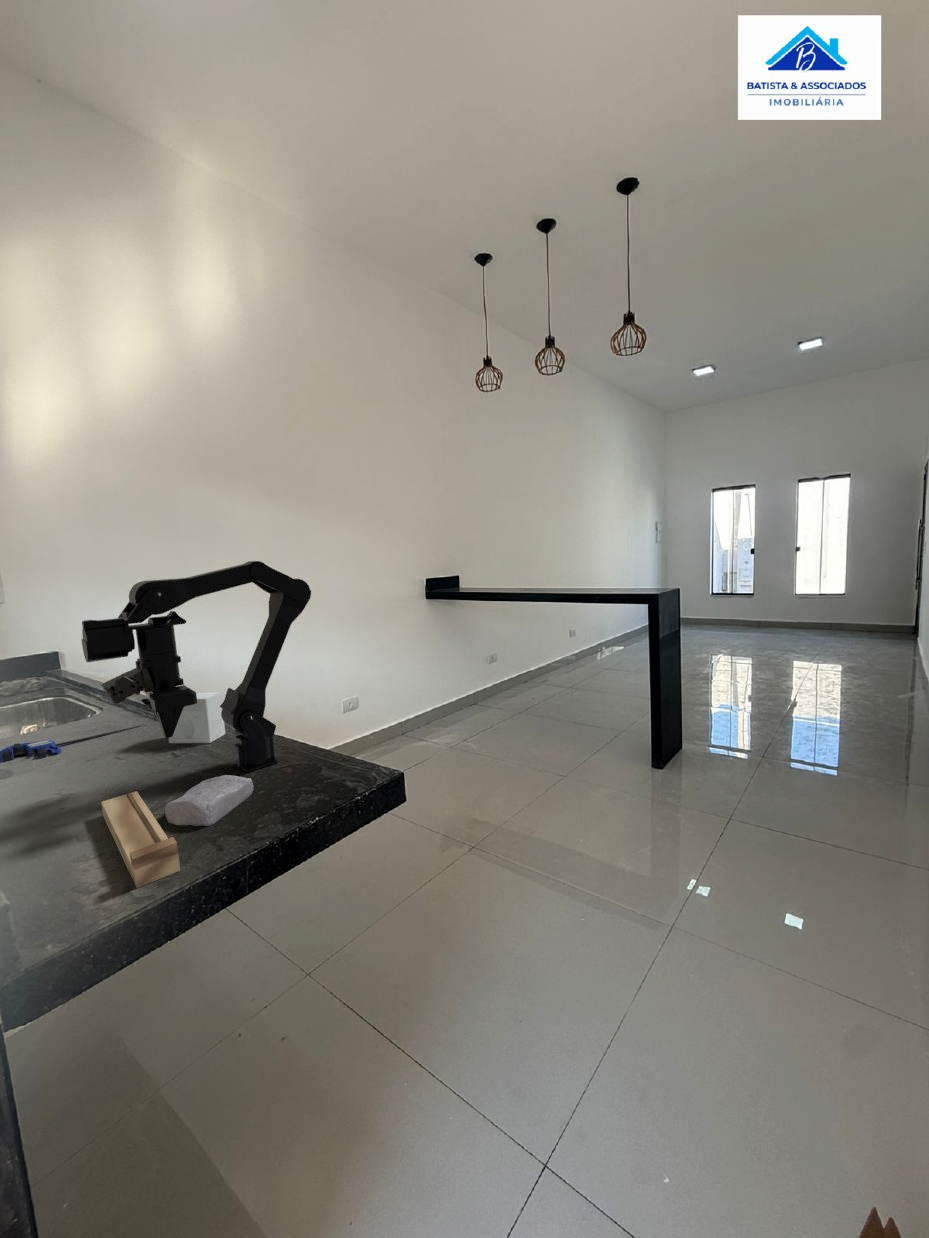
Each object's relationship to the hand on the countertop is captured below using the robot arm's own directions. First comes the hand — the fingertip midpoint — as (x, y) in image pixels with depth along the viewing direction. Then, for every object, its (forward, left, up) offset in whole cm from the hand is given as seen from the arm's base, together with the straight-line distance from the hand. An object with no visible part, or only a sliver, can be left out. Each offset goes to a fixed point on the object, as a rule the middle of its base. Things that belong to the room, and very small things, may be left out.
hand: (168, 736), depth 90 cm
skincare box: (-11, -26, -10) cm, 30 cm away
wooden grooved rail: (+9, +15, -10) cm, 20 cm away
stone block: (-2, +12, -10) cm, 16 cm away
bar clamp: (+7, -45, -11) cm, 47 cm away
